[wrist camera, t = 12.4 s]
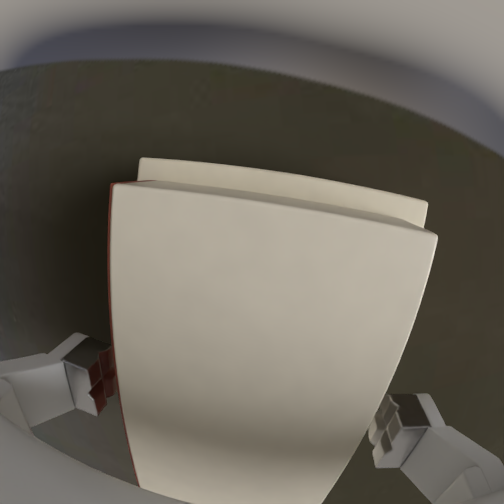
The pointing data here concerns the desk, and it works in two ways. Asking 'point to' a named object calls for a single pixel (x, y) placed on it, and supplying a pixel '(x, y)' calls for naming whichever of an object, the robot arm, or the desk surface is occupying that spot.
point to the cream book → (253, 335)
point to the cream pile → (284, 186)
